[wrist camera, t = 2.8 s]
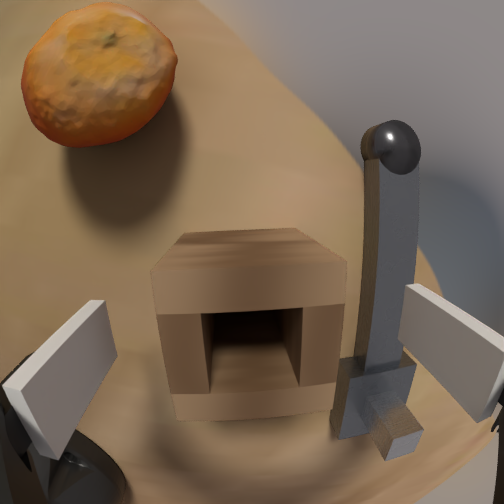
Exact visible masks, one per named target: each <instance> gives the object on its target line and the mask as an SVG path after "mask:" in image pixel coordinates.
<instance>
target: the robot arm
mask: <svg viewBox="0 0 504 504" xmlns="http://www.w3.org/2000/svg"><path fill="white" fill-rule="evenodd" d="M397 339H398V340H399V341H400V342H401V343H402V344H403V345H404V346H405V347H406V348H407V349H408V350H409V351H410V352H411V353H412V354H413V355H414V356H415V357H416V358H417V359H418V360H419V362H420V363H421V364H422V365H423V366H424V367H425V368H426V369H427V370H428V371H429V372H430V373H431V374H432V375H433V376H434V377H435V378H436V379H437V380H438V381H439V383H440V384H441V385H442V386H443V387H444V388H445V389H446V390H447V391H448V392H449V393H450V394H451V395H452V396H453V397H454V399H455V400H456V401H457V402H458V403H459V404H460V405H461V406H462V407H463V408H464V409H465V411H466V412H467V413H468V414H469V415H470V416H471V417H472V418H473V419H474V421H475V422H476V423H478V422H480V421H482V420H484V419H486V418H488V417H490V416H491V415H492V413H493V411H494V409H495V407H496V405H497V403H498V402H499V403H500V404H501V405H502V406H503V407H502V409H501V411H500V413H499V415H498V417H497V419H496V421H495V422H494V424H493V426H492V428H491V432H493V431H494V429H495V428H496V426H497V425H499V429H498V430H497V432H499V448H498V464H497V465H498V466H497V476H496V485H495V492H494V500H493V504H504V337H503V336H501V335H499V334H498V333H497V332H495V331H494V330H492V329H491V328H489V327H488V326H486V325H484V324H483V323H481V322H480V321H478V320H476V319H475V318H474V317H472V316H470V315H469V314H467V313H466V312H464V311H463V310H461V309H460V308H458V307H456V306H455V305H453V304H452V303H450V302H448V301H447V300H445V299H443V298H442V297H440V296H439V295H437V294H435V293H434V292H432V291H430V290H429V289H427V288H425V287H424V286H422V285H420V284H410V285H405V293H404V301H403V308H402V315H401V321H400V327H399V333H398V338H397ZM116 358H117V352H116V348H115V343H114V339H113V335H112V331H111V326H110V321H109V317H108V312H107V307H106V301H105V300H90V301H89V302H88V303H86V304H85V305H84V306H83V307H82V308H81V309H80V310H79V311H78V312H77V313H75V314H74V315H73V316H72V317H71V318H70V319H69V320H68V321H67V322H66V323H65V324H64V325H62V326H61V327H60V328H59V329H58V330H57V331H56V332H55V333H54V334H53V335H52V336H51V337H50V338H49V339H48V340H47V341H46V342H45V343H44V344H43V345H42V346H40V347H39V348H38V349H37V350H36V351H35V352H33V353H31V354H30V355H28V356H26V357H25V358H24V359H23V360H22V361H21V362H20V363H19V365H17V366H16V367H15V368H14V369H13V371H11V372H10V373H9V374H8V375H7V376H6V378H5V379H4V380H3V381H2V382H1V383H0V504H121V502H122V499H123V495H124V491H125V487H126V484H125V479H124V476H123V474H122V472H121V471H120V469H119V468H118V466H117V465H116V464H115V463H114V462H113V460H112V459H111V458H110V457H109V456H108V455H107V454H106V453H105V452H104V451H102V450H101V449H100V448H99V447H98V446H97V445H96V444H94V443H93V442H92V441H90V440H89V439H88V438H86V437H85V436H84V435H82V434H81V433H79V432H78V431H76V430H75V429H76V427H77V425H78V423H79V421H80V419H81V418H82V416H83V414H84V412H85V411H86V409H87V407H88V405H89V403H90V402H91V400H92V398H93V396H94V395H95V393H96V391H97V390H98V388H99V386H100V384H101V383H102V381H103V379H104V378H105V376H106V374H107V373H108V371H109V369H110V368H111V366H112V364H113V363H114V361H115V359H116Z"/></svg>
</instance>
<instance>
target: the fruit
mask: <svg viewBox="0 0 504 504" xmlns="http://www.w3.org/2000/svg"><path fill="white" fill-rule="evenodd" d="M177 62H178V59H177V55H176V54H175V52H174V49H173V45H172V43H171V41H170V40H169V39H168V38H167V37H166V36H165V35H164V34H163V33H162V32H161V31H160V30H159V29H158V28H157V27H156V26H155V25H154V24H153V23H152V22H150V21H149V20H148V19H147V18H146V17H145V16H143V15H142V14H140V13H139V12H137V11H135V10H133V9H131V8H129V7H127V6H125V5H121V4H115V3H111V2H100V3H96V4H92V5H89V6H87V7H85V8H83V9H80V10H75V11H70V12H67V13H66V14H64V15H63V16H62V17H60V18H59V19H57V20H56V21H55V22H54V23H53V24H52V26H51V27H50V28H49V29H48V30H47V32H46V33H45V34H44V35H43V36H42V37H41V39H40V40H39V41H38V42H37V43H36V44H35V46H34V47H33V48H32V49H31V51H30V52H29V54H28V55H27V57H26V60H25V64H24V69H23V74H22V79H21V88H22V93H23V98H24V102H25V105H26V108H27V111H28V114H29V116H30V119H31V121H32V123H33V124H34V126H35V127H36V128H37V129H38V130H39V131H40V132H41V133H43V134H44V135H45V136H46V137H47V138H48V139H50V140H52V141H53V142H56V143H58V144H61V145H63V146H67V147H76V148H82V147H89V146H96V145H103V144H109V143H113V142H117V141H120V140H122V139H125V138H126V137H128V136H130V135H131V134H133V133H135V132H137V131H138V130H139V129H141V128H142V127H143V126H144V125H145V124H147V123H148V122H149V121H150V120H151V119H152V118H153V117H154V116H155V114H156V113H157V112H158V111H159V110H160V109H161V107H162V106H163V104H164V102H165V100H166V98H167V96H168V95H169V93H170V91H171V89H172V85H173V82H174V76H175V69H176V65H177Z"/></svg>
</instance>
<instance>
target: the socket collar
mask: <svg viewBox="0 0 504 504" xmlns="http://www.w3.org/2000/svg"><path fill="white" fill-rule="evenodd" d="M346 275H347V261H346V260H344V259H343V258H341V257H340V256H338V255H337V254H335V253H334V252H332V251H331V250H329V249H327V248H326V247H324V246H323V245H321V244H320V243H318V242H317V241H315V240H314V239H312V238H310V237H309V236H307V235H306V234H304V233H303V232H301V231H299V230H298V229H296V228H285V229H259V230H235V231H214V232H194V233H184V234H183V235H182V236H181V237H180V238H179V239H178V240H177V242H176V243H175V244H174V245H173V246H172V247H171V248H170V249H169V251H168V252H167V253H166V254H165V255H164V256H163V257H162V259H161V260H160V261H159V262H158V263H157V264H156V265H155V267H154V268H153V269H152V270H151V279H152V287H153V295H154V302H155V309H156V316H157V322H158V328H159V334H160V340H161V346H162V352H163V357H164V362H165V367H166V372H167V377H168V382H169V387H170V391H171V396H172V400H173V405H174V409H175V413H176V417H177V421H229V420H247V419H261V418H272V417H282V416H290V415H298V414H306V413H313V412H319V411H325V410H331V409H332V408H333V402H334V395H335V388H336V381H337V374H338V366H339V357H340V349H341V339H342V329H343V318H344V306H345V292H346Z"/></svg>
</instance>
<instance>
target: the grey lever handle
mask: <svg viewBox="0 0 504 504" xmlns="http://www.w3.org/2000/svg"><path fill="white" fill-rule="evenodd" d="M361 154H362V157H363V160H364V181H365V215H364V249H363V268H362V283H361V296H360V307H359V317H358V326H357V335H356V343H355V351H354V357H348V358H342V359H339V366H338V374H337V381H336V388H335V395H334V402H333V408H332V409H331V414H330V421H331V424H332V426H333V428H334V431H335V433H336V435H337V438H338V440H340V439H345V438H350V437H354V436H358V435H363V434H367V433H370V435H371V437H372V439H373V441H374V442H375V444H376V446H377V448H378V450H379V452H380V453H381V455H382V457H383V459H384V461H388V460H391V459H394V458H397V457H400V456H403V455H406V454H409V453H411V452H414V450H415V448H416V446H417V444H418V442H419V439H420V437H421V435H422V432H423V430H424V429H423V427H422V426H421V425H420V423H419V422H418V421H417V420H416V418H415V417H414V416H413V414H412V413H411V412H410V410H409V409H408V408H407V406H406V405H405V404H406V401H407V398H408V395H409V391H410V388H411V384H412V381H413V377H414V373H415V370H416V366H417V364H416V363H415V362H414V361H413V360H412V359H411V358H410V357H409V356H408V355H407V354H406V353H405V352H404V351H403V346H404V345H403V344H402V343H401V342H400V341H399V340H398V339H397V338H398V333H399V327H400V321H401V315H402V308H403V301H404V293H405V285H410V284H414V275H415V265H416V254H417V239H418V221H419V160H420V156H421V147H420V142H419V139H418V137H417V135H416V134H415V132H414V130H413V129H412V128H411V127H410V126H409V125H407V124H406V123H404V122H401V121H398V120H391V121H387V122H385V123H382V124H379V125H376V126H373V127H371V128H369V129H368V130H367V131H366V133H364V135H363V137H362V141H361Z"/></svg>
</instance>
